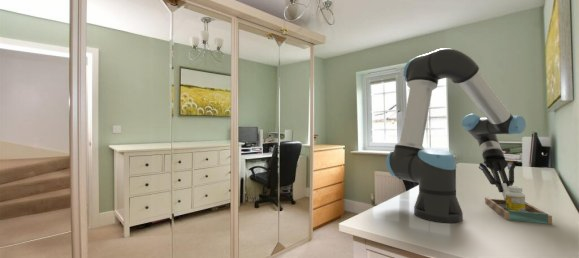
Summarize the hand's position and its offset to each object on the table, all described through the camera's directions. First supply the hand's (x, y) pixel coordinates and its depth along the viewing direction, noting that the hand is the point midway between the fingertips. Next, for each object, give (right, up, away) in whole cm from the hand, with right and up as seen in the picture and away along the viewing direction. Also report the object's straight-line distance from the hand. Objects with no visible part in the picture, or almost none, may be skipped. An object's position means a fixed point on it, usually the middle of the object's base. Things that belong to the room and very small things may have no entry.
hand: (507, 198), depth 101 cm
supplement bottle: (-3, -4, -6) cm, 8 cm away
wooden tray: (-2, -3, -5) cm, 7 cm away
